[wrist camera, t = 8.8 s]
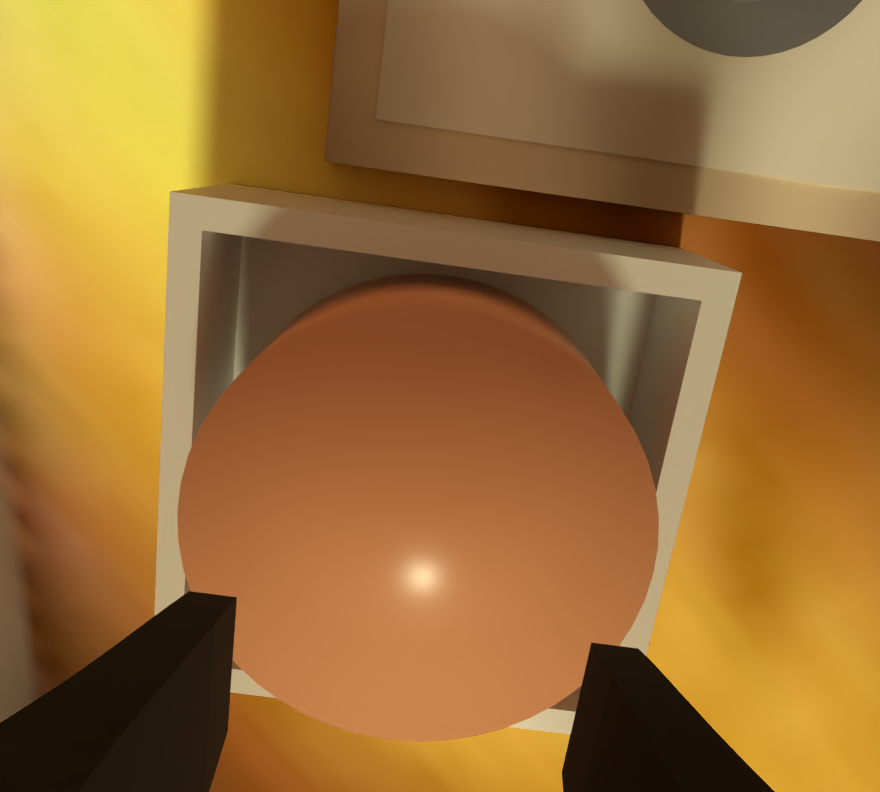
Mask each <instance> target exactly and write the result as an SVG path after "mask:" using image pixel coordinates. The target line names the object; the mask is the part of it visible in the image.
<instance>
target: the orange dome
mask: <svg viewBox="0 0 880 792" xmlns="http://www.w3.org/2000/svg"><path fill="white" fill-rule="evenodd" d="M177 519H178V542H179V548H180V554H181V560H182V566H183V570H184V573H185V576H186V579H187V582H188V585H189V588H190V591H192V592H200V593H208V594H215V595H223V596H231V597H237V604H236V618H235V632H234V646H233V661H234V662H235V663H236V664H237V665H238V666H239V667H240V668H241V669H242V670H243V671H244V672H245V673H246V674H247V675H248V676H249V677H251V678H252V679H253V680H254V681H255V682H256V683H257V684H258V685H260V686H261V687H262V688H264V689H265V690H266V691H268V692H269V693H271V694H272V695H273V696H275V697H276V698H278V699H279V700H280V701H282V702H284V703H285V704H287V705H289V706H291V707H293V708H294V709H296V710H298V711H300V712H301V713H303V714H305V715H307V716H309V717H312V718H314V719H317V720H319V721H321V722H324V723H326V724H328V725H331V726H333V727H337V728H340V729H344V730H347V731H350V732H354V733H357V734H361V735H366V736H372V737H377V738H383V739H389V740H402V741H417V742H419V741H444V740H453V739H459V738H466V737H473V736H477V735H481V734H485V733H489V732H492V731H496V730H500V729H503V728H506V727H509V726H511V725H514V724H516V723H519V722H521V721H524V720H526V719H529V718H531V717H533V716H535V715H537V714H539V713H540V712H542V711H544V710H546V709H548V708H550V707H552V706H554V705H555V704H557V703H558V702H560V701H561V700H562V699H564V698H565V697H567V696H568V695H570V694H571V693H573V692H574V691H575V690H577V689H578V688H579V687H580V686H582V682H583V677H584V673H585V668H586V664H587V660H588V655H589V651H590V646H591V643H599V644H607V645H615V646H619V645H620V644H621V642H622V641H623V639H624V638H625V636H626V635H627V633H628V632H629V630H630V629H631V627H632V626H633V624H634V622H635V620H636V618H637V615H638V613H639V611H640V609H641V607H642V605H643V603H644V601H645V598H646V595H647V592H648V589H649V586H650V583H651V579H652V576H653V573H654V567H655V561H656V555H657V549H658V531H659V514H658V506H657V498H656V490H655V485H654V482H653V478H652V474H651V471H650V467H649V463H648V460H647V457H646V455H645V453H644V451H643V448H642V446H641V444H640V441H639V439H638V437H637V435H636V432H635V431H634V429H633V427H632V426H631V424H630V422H629V421H628V419H627V418H626V416H625V414H624V413H623V411H622V410H621V408H620V406H619V405H618V403H617V402H616V400H615V399H614V397H613V396H612V394H611V393H610V391H609V390H608V389H607V387H606V386H605V384H604V383H603V381H602V380H601V378H600V377H599V375H598V374H597V372H596V371H595V369H594V368H593V366H592V365H591V363H590V362H589V360H588V359H587V357H586V356H585V354H584V353H583V352H582V351H581V350H580V348H579V347H578V346H577V345H576V344H575V342H574V341H573V340H572V339H571V338H570V336H569V335H568V334H567V333H566V332H565V331H563V330H562V329H561V328H560V327H559V326H558V325H557V324H556V323H555V322H554V321H553V320H551V319H550V318H549V317H548V316H546V315H545V314H544V313H542V312H541V311H539V310H538V309H536V308H535V307H533V306H532V305H530V304H529V303H528V302H526V301H524V300H522V299H520V298H518V297H516V296H514V295H512V294H510V293H508V292H506V291H504V290H502V289H499V288H496V287H493V286H490V285H487V284H485V283H482V282H479V281H475V280H470V279H465V278H460V277H456V276H450V275H437V274H407V275H395V276H389V277H384V278H379V279H374V280H369V281H366V282H363V283H360V284H357V285H354V286H351V287H348V288H345V289H343V290H341V291H339V292H337V293H335V294H333V295H331V296H329V297H327V298H325V299H323V300H321V301H319V302H318V303H316V304H315V305H313V306H312V307H310V308H309V309H307V310H306V311H304V312H303V313H301V314H300V315H299V316H298V317H296V318H295V319H294V320H293V321H292V322H291V323H290V324H289V325H287V326H286V327H285V328H284V329H283V330H282V331H281V332H280V333H279V334H278V335H277V336H276V337H275V338H274V339H273V340H272V341H271V342H270V343H269V344H268V345H267V346H266V347H265V348H264V349H263V350H262V352H261V353H260V354H259V355H258V356H257V357H256V358H255V359H254V360H253V361H252V362H251V363H250V364H249V365H248V366H247V367H246V368H245V369H244V370H243V371H242V372H241V373H240V374H239V376H238V377H237V378H236V379H235V380H234V381H233V382H232V384H231V385H230V386H229V387H228V388H227V389H226V391H225V392H224V393H223V394H222V395H221V397H220V398H219V399H218V400H217V401H216V403H215V404H214V406H213V408H212V409H211V411H210V412H209V414H208V416H207V417H206V419H205V420H204V422H203V424H202V425H201V427H200V429H199V431H198V434H197V436H196V438H195V440H194V443H193V445H192V447H191V450H190V452H189V454H188V458H187V461H186V465H185V469H184V472H183V476H182V480H181V484H180V493H179V501H178V510H177Z"/></svg>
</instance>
